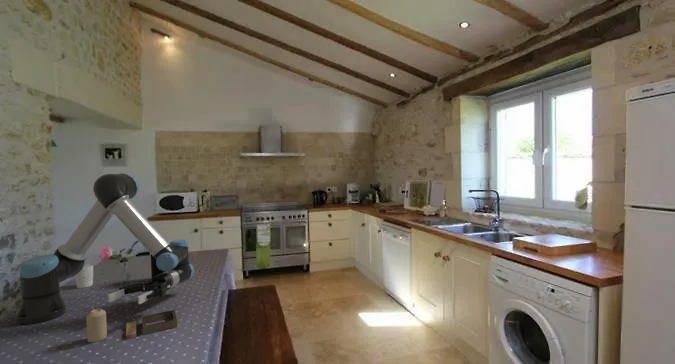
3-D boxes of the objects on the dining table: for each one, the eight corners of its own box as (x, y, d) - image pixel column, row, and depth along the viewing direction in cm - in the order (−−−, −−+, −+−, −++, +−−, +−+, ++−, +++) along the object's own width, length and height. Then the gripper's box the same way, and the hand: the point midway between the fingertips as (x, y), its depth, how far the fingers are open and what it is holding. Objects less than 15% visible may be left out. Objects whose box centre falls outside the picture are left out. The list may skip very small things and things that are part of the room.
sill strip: (126, 339, 117) (125, 335, 117) (126, 325, 127) (126, 322, 127) (136, 336, 118) (136, 333, 118) (136, 323, 129) (136, 320, 129)
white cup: (71, 287, 173) (70, 268, 173) (87, 282, 180) (86, 263, 180) (81, 289, 170) (80, 269, 170) (97, 284, 177) (96, 265, 177)
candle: (92, 344, 114) (90, 314, 114) (84, 340, 117) (83, 311, 117) (110, 337, 119) (108, 308, 118) (102, 333, 122) (101, 305, 121)
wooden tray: (142, 334, 120) (142, 327, 120) (142, 323, 129) (142, 316, 129) (177, 326, 125) (177, 319, 125) (174, 316, 135) (174, 309, 135)
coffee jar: (165, 283, 176) (163, 248, 176) (147, 282, 178) (145, 248, 178) (178, 276, 187) (177, 244, 186) (161, 276, 189) (160, 243, 188)
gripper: (190, 290, 145) (152, 311, 125) (141, 288, 151) (97, 307, 131) (189, 273, 145) (150, 291, 124) (140, 271, 151) (96, 288, 131)
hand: (123, 299), depth 128 cm, fingers open, 13 cm apart
